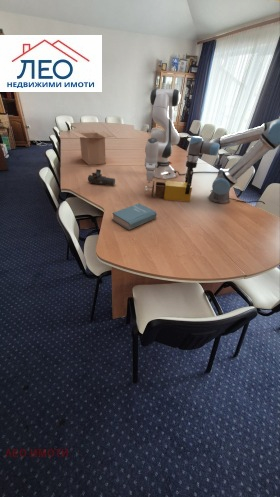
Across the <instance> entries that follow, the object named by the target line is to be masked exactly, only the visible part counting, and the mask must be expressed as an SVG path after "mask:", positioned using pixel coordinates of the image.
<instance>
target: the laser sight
mask: <svg viewBox="0 0 280 497" xmlns="http://www.w3.org/2000/svg"><path fill="white" fill-rule="evenodd" d="M101 172H102V170H101V169H97V168H96V170H95V172H92V173H91V174H89V175H88V177H87V182H88V183H90V184H95V185H101V186H102V185H103V186H106V185H108V186H115V185H116V178H113V177H106V176H104V175H103V174H102V173H101Z"/></svg>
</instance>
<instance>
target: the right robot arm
mask: <svg viewBox="0 0 280 497" xmlns="http://www.w3.org/2000/svg"><path fill="white" fill-rule="evenodd" d="M253 142H256V143H255V144H254V145H253V146H251V148H249V150H247V151H246V152H245V153H244V154H243V155H242V156H241V157H240V158H239V159H238V160H237V161H236V162H235V163H234V164H233V165H232V166H231V167H230V168H227V169H226V168H219V169H218V171H217V172H218V173H217V174H216V177H215V179H214V180H213V181H212V185H211V188H212V189H211V190H210V193H209V196H208V199H209V200H210V201H211V202H213V203H216V204H221V205H222V204H228V203H229V202H230V200H232V201H236V202H240V203H248V204H249V203H262V204H263V205H266V202H264V201H262V200H251V201H246V200H245V201H244V200H240V199H236V198H231V197H230V191H231V189H232V188H233V187H234V186H235V185H236V184H237V183H238V179H240V177H242V175H244V174H245V173H246V172H247V171H248V170H249V169H251V168H252V167H253V166H254V165H255V164H256V163H257V162H258V161H260V160H261V159H262V158H263V157H264V156H265V155H266V154H268V152H270V151H271V150H272V151H273V150H275V149H276V148H278V147H279V146H280V118H276V119H274V120H272V121H269V122H266V123H263V124H262V125H261V126H257V127H254V128H250V129H246V130H243V131H238V132H235V133H232V134H228V135H224V136H221V137H217V138H211V139H210V140H209V141H205V140H203V137H202V136H199V135H198V136H196V135H195V136H191V137H190V142H189V144H188V145H189V146H188V151H187V155H186V162H185V167H186V168H187V169H186V173H185V177H184V178H185V179H184V182H187V185H186V191H185V194H189V191H190V186H192V182H193V175H194V173H193V172H194V169H196V168H197V165H198V161H199V157H200V154H203V155H206V156H207V155H208V156H217V155H218V153H219V151H220V150H223V149H226V148H231V147H235V146H239V145H240V146H241V145H245V144H248V143H253Z"/></svg>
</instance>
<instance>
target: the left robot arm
mask: <svg viewBox="0 0 280 497" xmlns="http://www.w3.org/2000/svg"><path fill="white" fill-rule="evenodd" d="M180 93H181V92H180V90H178V89H176V88H175V89H174V88H154V89H152V90H151V92H150V94H149V95H150V96H149V101H150V104H151V105H152V111H151V118H152V121H153V122H154V123H155V124H156V125H157V126H159V127H161V128H163V129H153V130H152V131H151V133H150V138H148V139H147V140H146V145H145V148H144V149H145V151H144V152H145V158H144V168H145V171H146V181H147V184H151V183H152V182H153V178H156V179H162V180H169V179H173V178H177V175H176V174H178V175H179V176H186V173H182V174H181V173H180V172H179V171H178V170H176V169H174V168H173V167H172V166H171V165H172V164H173V162H172V161H169V158H170V157H172V153H173V146H178V144H179V143H180V140H181V137H180V133H178V131H177V129H175V126H174V108H175V107H177V106H178V105H179V103H180V100H181V94H180ZM197 173H198V174H199V173H201V174H202V173H203V174H204V173H207V174H218V171H193V174H197Z"/></svg>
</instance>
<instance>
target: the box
mask: <svg viewBox="0 0 280 497" xmlns="http://www.w3.org/2000/svg"><path fill="white" fill-rule="evenodd" d="M70 133H71V134H72V135H74V136H75V137H77V138H79V144H80V153H81V160H83V162H85V163H86V165H87V166H95V165H97V166H98V165H106V163H107V162H106V158H107V157H106V138H113V137H114V136H113V135H111V134H109V133H108V132H105V131H98V132H96V131H95V130H92V129H91V130H77V132H76V131H70Z"/></svg>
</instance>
